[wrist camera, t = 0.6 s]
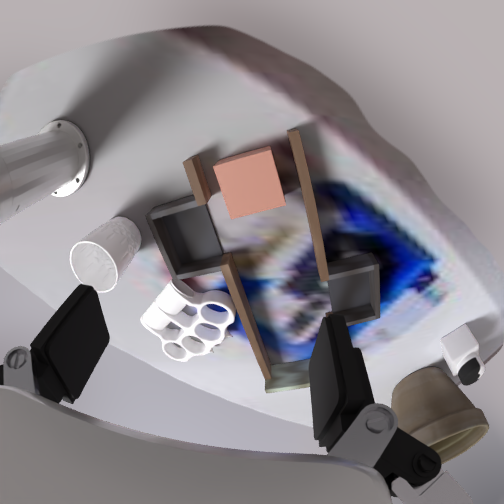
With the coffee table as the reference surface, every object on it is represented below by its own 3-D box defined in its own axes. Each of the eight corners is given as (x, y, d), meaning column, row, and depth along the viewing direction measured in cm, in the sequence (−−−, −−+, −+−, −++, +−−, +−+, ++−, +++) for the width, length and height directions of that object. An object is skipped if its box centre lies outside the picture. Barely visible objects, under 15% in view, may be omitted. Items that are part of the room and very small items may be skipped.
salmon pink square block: (234, 207, 40) (231, 219, 36) (219, 160, 37) (213, 166, 33) (283, 194, 39) (285, 205, 35) (270, 145, 36) (270, 150, 32)
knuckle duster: (184, 261, 45) (255, 311, 49) (136, 321, 52) (197, 360, 55) (179, 272, 42) (255, 324, 46) (130, 332, 49) (194, 372, 52)
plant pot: (361, 417, 64) (373, 486, 45) (385, 360, 53) (413, 447, 34) (437, 401, 63) (457, 460, 44) (472, 343, 51) (508, 410, 32)
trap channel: (231, 374, 56) (228, 397, 51) (141, 174, 38) (123, 185, 33) (374, 348, 51) (382, 370, 46) (351, 118, 33) (366, 120, 28)
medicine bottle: (442, 355, 53) (461, 393, 42) (439, 338, 50) (460, 379, 40) (467, 340, 51) (488, 376, 40) (465, 322, 48) (489, 360, 38)
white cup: (132, 205, 40) (99, 233, 31) (153, 251, 44) (128, 286, 35) (95, 221, 42) (60, 249, 33) (115, 262, 45) (88, 296, 36)
